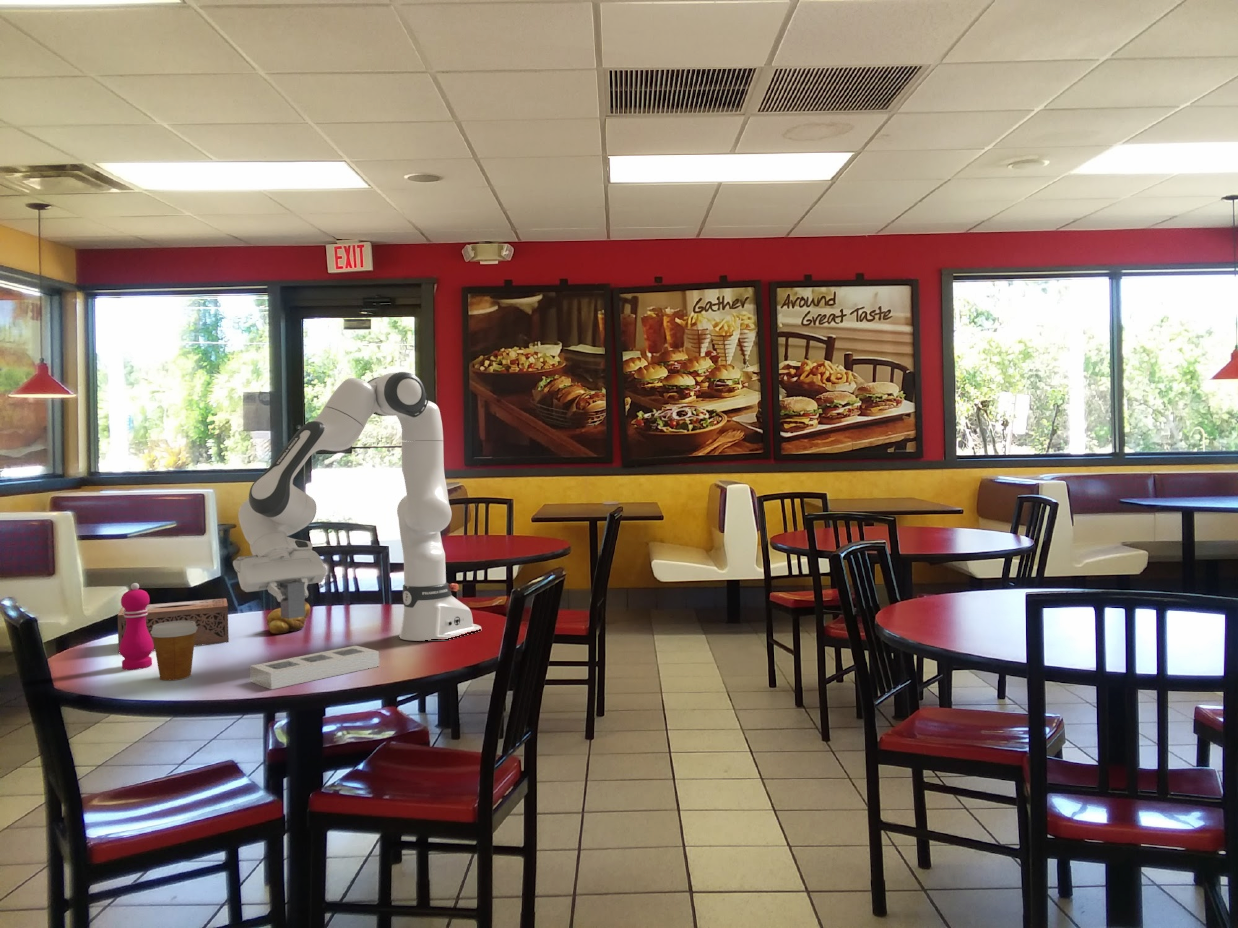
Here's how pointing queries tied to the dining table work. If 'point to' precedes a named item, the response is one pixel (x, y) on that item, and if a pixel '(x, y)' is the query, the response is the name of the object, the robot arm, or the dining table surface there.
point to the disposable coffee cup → (174, 648)
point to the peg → (293, 599)
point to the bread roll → (286, 621)
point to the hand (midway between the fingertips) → (293, 598)
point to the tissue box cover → (188, 619)
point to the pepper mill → (136, 630)
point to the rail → (313, 667)
